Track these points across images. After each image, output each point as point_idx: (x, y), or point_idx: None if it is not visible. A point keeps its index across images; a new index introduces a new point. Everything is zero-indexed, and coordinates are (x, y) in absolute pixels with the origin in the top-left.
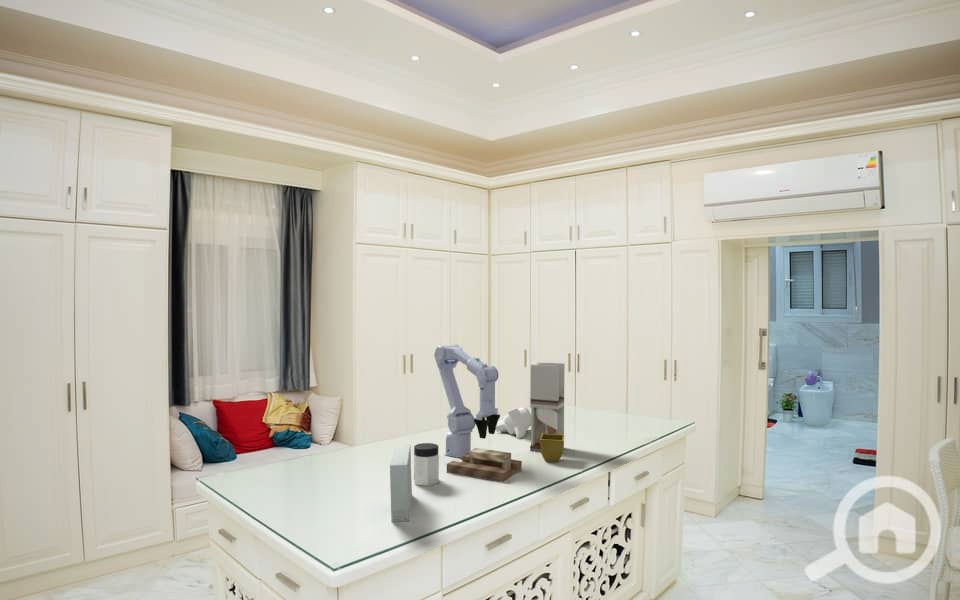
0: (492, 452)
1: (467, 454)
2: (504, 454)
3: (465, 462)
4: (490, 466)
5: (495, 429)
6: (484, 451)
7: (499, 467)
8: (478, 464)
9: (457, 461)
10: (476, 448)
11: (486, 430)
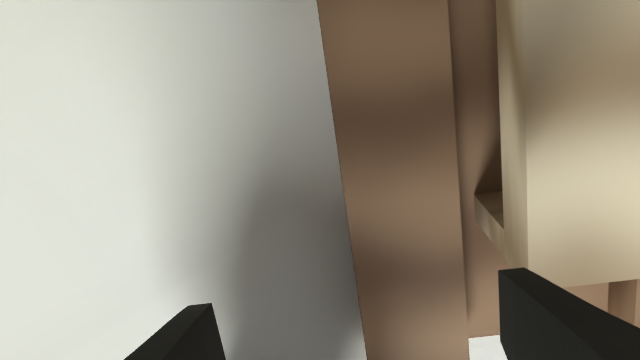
0: (625, 20)
1: (410, 357)
2: None
3: (472, 305)
4: (462, 88)
5: (153, 335)
6: (627, 130)
7: (448, 1)
8: (477, 195)
9: (636, 313)
10: (545, 273)
11: (581, 322)
